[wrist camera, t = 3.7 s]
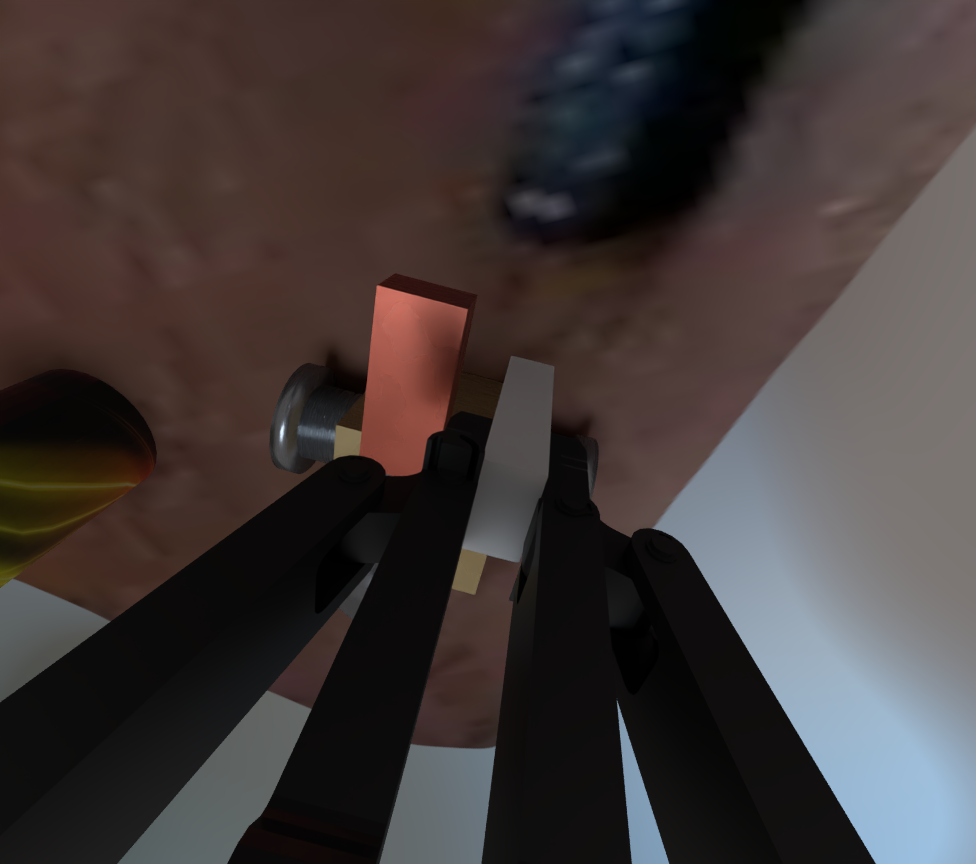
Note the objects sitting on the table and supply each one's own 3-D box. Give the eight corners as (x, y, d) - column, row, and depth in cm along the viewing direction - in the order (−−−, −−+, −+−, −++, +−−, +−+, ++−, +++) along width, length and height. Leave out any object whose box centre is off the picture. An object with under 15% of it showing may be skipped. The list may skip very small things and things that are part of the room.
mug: (23, 482, 39) (-172, 598, 29) (30, 343, 32) (-224, 427, 22) (138, 537, 40) (-10, 667, 30) (166, 414, 34) (-11, 526, 23)
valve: (319, 445, 33) (243, 532, 25) (325, 335, 29) (237, 398, 21) (560, 509, 33) (558, 617, 25) (599, 408, 29) (612, 498, 21)
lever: (439, 557, 24) (413, 639, 20) (369, 538, 24) (329, 616, 20) (506, 278, 17) (487, 314, 13) (407, 252, 17) (357, 279, 13)
